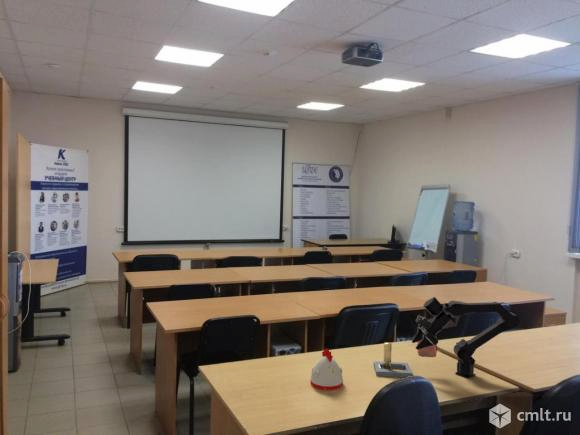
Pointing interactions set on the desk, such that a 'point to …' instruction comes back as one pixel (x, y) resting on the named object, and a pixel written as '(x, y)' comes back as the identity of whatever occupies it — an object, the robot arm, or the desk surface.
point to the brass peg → (387, 356)
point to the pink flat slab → (427, 351)
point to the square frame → (392, 373)
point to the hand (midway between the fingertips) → (414, 345)
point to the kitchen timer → (326, 373)
